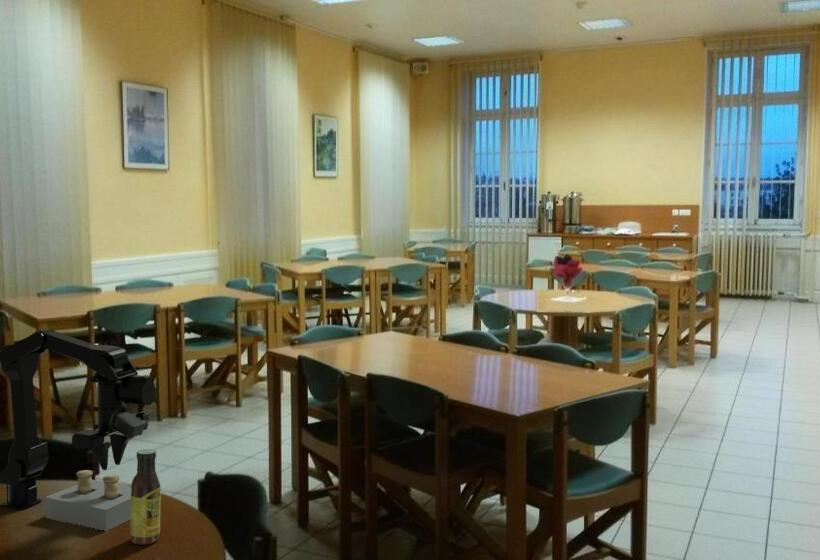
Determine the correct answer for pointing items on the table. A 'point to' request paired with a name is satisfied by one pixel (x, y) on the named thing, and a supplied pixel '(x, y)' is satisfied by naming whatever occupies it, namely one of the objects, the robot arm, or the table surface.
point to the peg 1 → (84, 482)
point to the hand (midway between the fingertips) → (111, 467)
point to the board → (90, 507)
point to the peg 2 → (111, 487)
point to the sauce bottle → (145, 500)
